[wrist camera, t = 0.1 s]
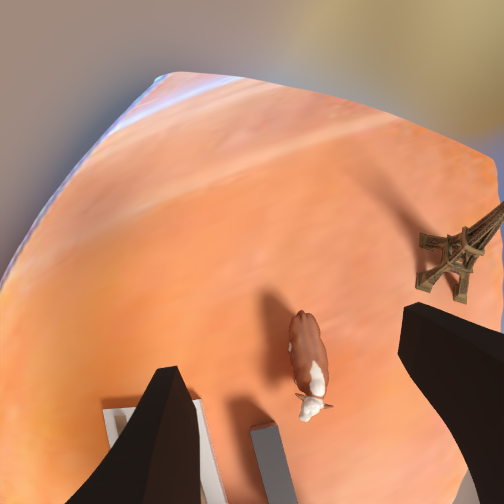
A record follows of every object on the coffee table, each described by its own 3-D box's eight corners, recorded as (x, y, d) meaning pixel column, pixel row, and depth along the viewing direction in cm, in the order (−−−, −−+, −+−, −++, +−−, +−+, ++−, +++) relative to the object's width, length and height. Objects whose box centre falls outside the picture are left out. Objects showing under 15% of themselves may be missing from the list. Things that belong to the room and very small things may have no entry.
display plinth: (239, 537, 27) (238, 546, 24) (145, 540, 26) (137, 547, 23) (201, 399, 36) (197, 399, 34) (109, 409, 35) (98, 409, 32)
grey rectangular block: (294, 497, 30) (299, 511, 25) (270, 503, 30) (272, 517, 25) (274, 421, 35) (277, 425, 30) (250, 426, 35) (249, 431, 30)
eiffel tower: (466, 251, 45) (547, 163, 23) (465, 304, 41) (568, 228, 19) (419, 233, 47) (493, 129, 25) (415, 288, 43) (513, 193, 20)
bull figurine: (289, 419, 35) (297, 424, 28) (283, 322, 41) (289, 305, 34) (322, 415, 35) (338, 419, 28) (315, 320, 41) (327, 302, 34)
